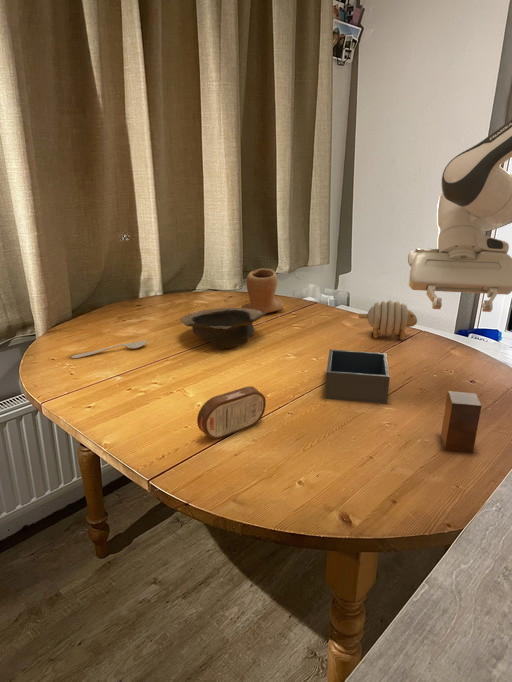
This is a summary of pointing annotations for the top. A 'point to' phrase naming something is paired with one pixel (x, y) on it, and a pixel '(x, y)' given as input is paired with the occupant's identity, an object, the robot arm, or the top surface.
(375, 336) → the toy sheep
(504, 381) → the top surface
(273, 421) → the top surface
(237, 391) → the tin
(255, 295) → the terracotta vase
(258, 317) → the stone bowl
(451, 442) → the block
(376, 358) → the gray open box
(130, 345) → the spoon
